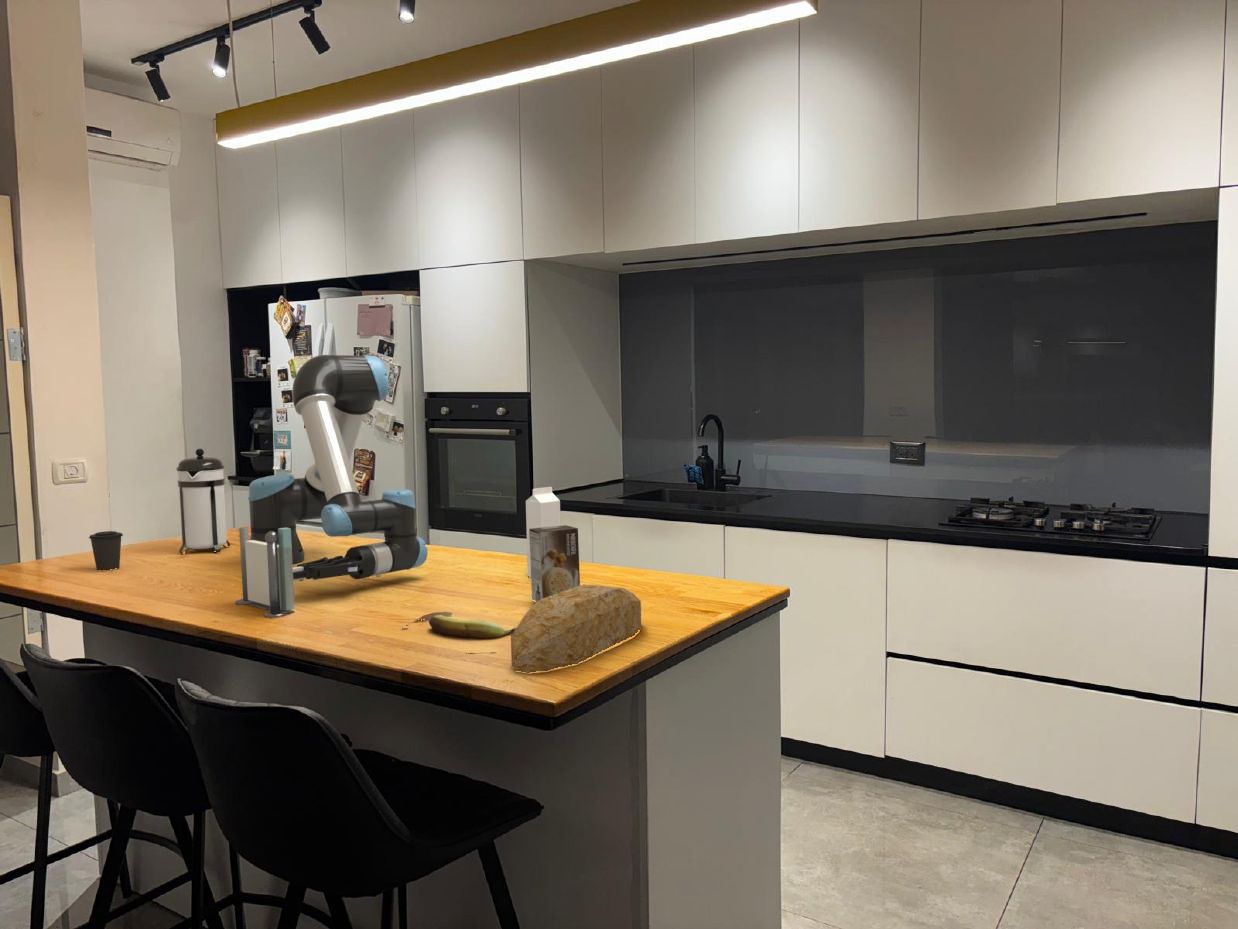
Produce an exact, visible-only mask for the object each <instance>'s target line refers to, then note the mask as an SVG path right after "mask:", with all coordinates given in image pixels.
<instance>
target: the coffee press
mask: <svg viewBox="0 0 1238 929" xmlns="http://www.w3.org/2000/svg"><path fill="white" fill-rule="evenodd" d="M204 453H205V451H204V450H203V448H198V449H196V450H195V454H196V457H189V458H184V459H182V460H181V461H180V462H178V465H177V467H176V468H175V469H176V472H177V477H178V480H177V487H178V493H179V496H178V497H179V510H180V526H181V542H182V545H181V547H180V548H179V550H178V553H179V554H180V553H183V550H184V548H185V550H184V551H185V552H187V553H188V551H190V550H203V549H209V550H210V549H211V550H212V552H213V551H216V552H221V549H220V547H221V546H222V547H224V548H226V546H230V547H231V543H230V542H229V540H227V539H228V538H227V536H228V534H227V516H226V514H227V513H226V500H225V499H226V498H225V484H226V483H225V482H226V481H225V477H224V470H225V465H224V464H223V461H222V460H220V459H219V458H217V457H211V456H210V457H209V456H204ZM226 544H227V545H226Z"/></svg>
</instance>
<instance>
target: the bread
mask: <svg viewBox="0 0 1238 929" xmlns="http://www.w3.org/2000/svg"><path fill="white" fill-rule="evenodd" d="M515 628H516V629H515V631H514V633H513V634H512V635H510V650H511V651H510V653H511V654H510V655H511V657H510V659H511V667H513V668H514V669H513V668H512V669H513V671H514V670H515V671H521V672H526V673H530V672H536V671H548V670H551V669H554V668H558V667H565V666H568V665H572V664H578V663H579V662H581V661H584V660H586V659H587V658H589V657H592V656H593V655H595V654H598V653H599V652H601V651H602V650H605V649H607V648H609V647H611V646H613V645H615V644H616V643H620V642H621V641H623V640H626V639H627V638H629V637H632V636H634V635H635V633H637V632H638V630H640V628H641V629H642V600H640V599H639V598H638V597H637V596H636V594H634V593H633V591H632V592H631V591H629V590H627V589H626V588H624V587H617V586H616V587H615V586H607V585H598V584H580V586H577V587H575V588H572V589H569V590H566V591H563V592H560V593H557V594H554V595H552V596H549V597H546V598H543V599H540V600H539V601H537V602H534V604H533V605H531V607H529V609H527V612H526V613H525V614H524V615H523V617H522V619H521V620H520V621H519V623H518V625H517V626H516V627H515ZM515 671H514V672H515Z"/></svg>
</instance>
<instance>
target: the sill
mask: <svg viewBox="0 0 1238 929" xmlns="http://www.w3.org/2000/svg"><path fill="white" fill-rule="evenodd" d="M234 604H235V605H237V606H252V607H254V606H256V607H255V608H258V607H259V609H262V610H266V609H267V610H266V611H269V610H270V606H269V605H265V604H261V603H258V602H254V601H250V600H247V601H244V600H243V598H240V599H236V600H235V602H234ZM280 611H286V612H287V614H286V615H288V614H293V613H295V610H294V609H291V610H284V609H280Z"/></svg>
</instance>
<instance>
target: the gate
mask: <svg viewBox="0 0 1238 929" xmlns="http://www.w3.org/2000/svg"><path fill="white" fill-rule="evenodd" d="M238 530H239V548H240V551H239V552H240V567H241V569H240V570H241V585H242V586H241V588H242V599H243V600H244V601H247V600H250V601H254V602H258V603H261V604H265V605H269V606H270V598H269V578H268V558H267V543H266V542H261V541H255V540H250V537H249V527H247V526H245V527H239V528H238ZM249 540H250V541H249ZM278 544H279V545H277V551H278V572H279V593H280V609H284V610H294V609H295V607H296V606H295V592H294V591H295V590H294V589H295V587H294V581H293V568H294V567H293V564H292V544H291V528H279V529H278Z"/></svg>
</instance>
